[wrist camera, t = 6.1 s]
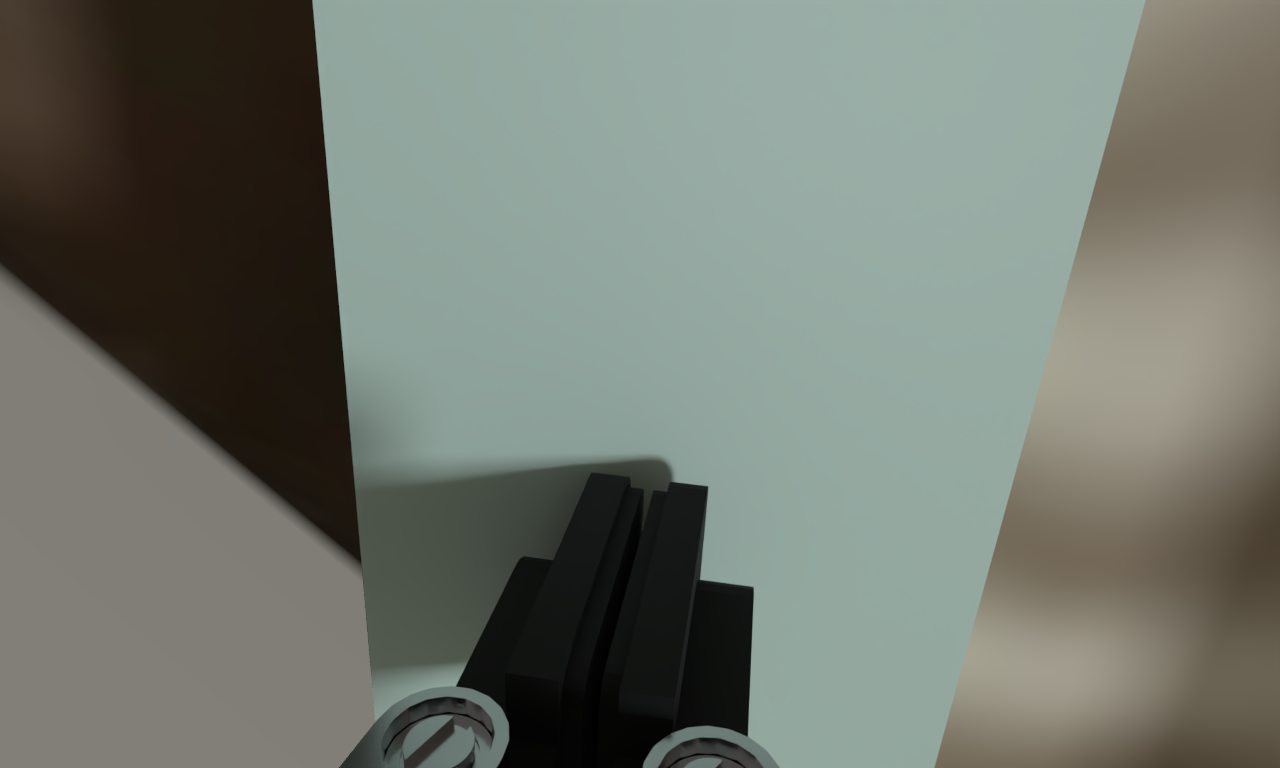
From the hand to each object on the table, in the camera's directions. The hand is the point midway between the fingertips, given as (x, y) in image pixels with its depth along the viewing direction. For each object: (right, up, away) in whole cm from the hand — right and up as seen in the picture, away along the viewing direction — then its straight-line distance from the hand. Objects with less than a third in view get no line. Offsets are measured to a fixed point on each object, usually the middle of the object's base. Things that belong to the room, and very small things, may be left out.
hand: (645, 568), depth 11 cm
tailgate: (+6, +1, +3) cm, 6 cm away
